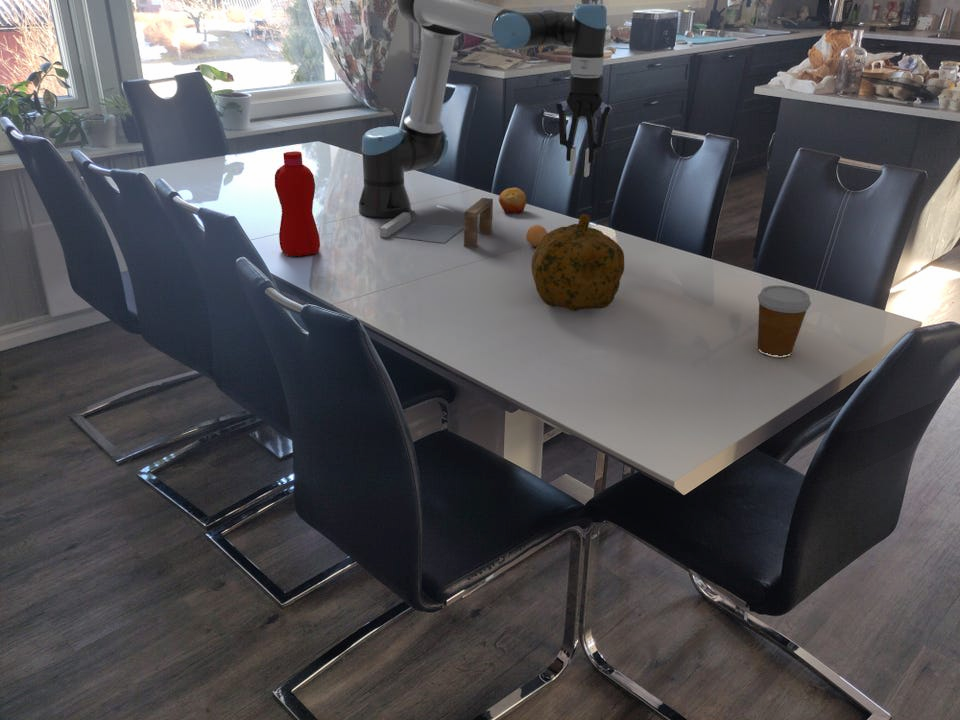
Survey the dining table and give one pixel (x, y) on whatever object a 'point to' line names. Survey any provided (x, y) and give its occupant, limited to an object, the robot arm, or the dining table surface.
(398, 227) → the wall
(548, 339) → the dining table surface
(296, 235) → the water bottle
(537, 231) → the ball
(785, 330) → the disposable coffee cup
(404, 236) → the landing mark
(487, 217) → the bridge
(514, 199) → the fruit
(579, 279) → the decorative pumpkin
